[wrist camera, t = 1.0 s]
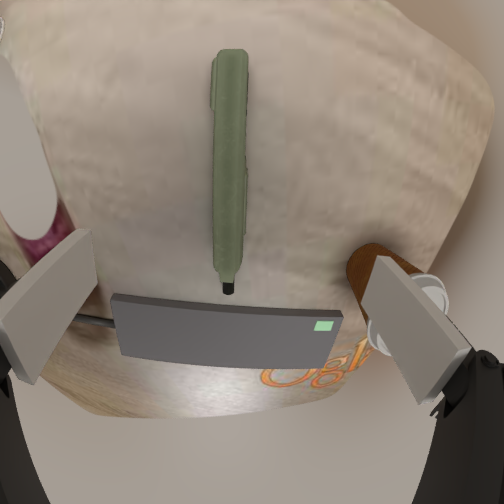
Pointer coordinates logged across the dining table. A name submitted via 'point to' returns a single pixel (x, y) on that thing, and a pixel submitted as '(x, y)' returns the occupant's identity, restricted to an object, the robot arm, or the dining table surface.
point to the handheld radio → (229, 162)
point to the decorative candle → (1, 27)
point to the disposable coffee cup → (360, 275)
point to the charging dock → (221, 333)
